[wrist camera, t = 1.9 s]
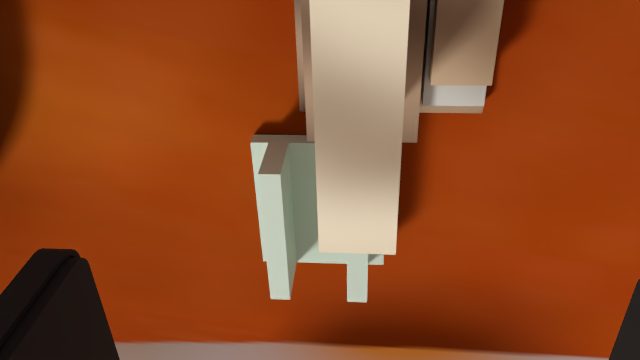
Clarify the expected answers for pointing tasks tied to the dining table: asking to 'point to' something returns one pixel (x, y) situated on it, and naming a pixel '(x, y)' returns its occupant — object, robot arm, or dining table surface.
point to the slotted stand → (295, 215)
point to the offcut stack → (459, 51)
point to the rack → (412, 71)
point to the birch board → (358, 121)
